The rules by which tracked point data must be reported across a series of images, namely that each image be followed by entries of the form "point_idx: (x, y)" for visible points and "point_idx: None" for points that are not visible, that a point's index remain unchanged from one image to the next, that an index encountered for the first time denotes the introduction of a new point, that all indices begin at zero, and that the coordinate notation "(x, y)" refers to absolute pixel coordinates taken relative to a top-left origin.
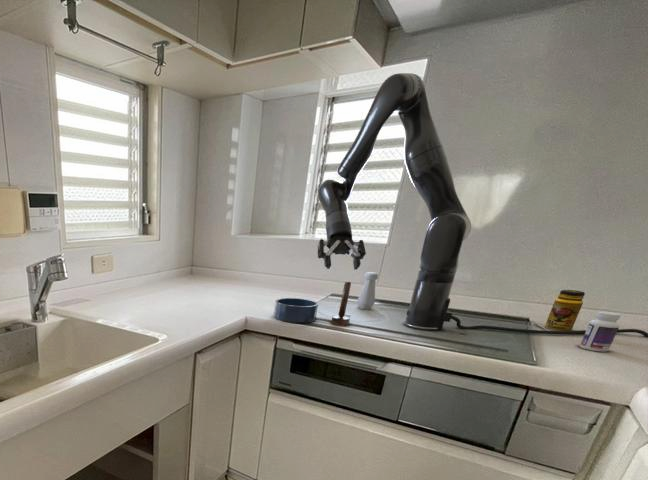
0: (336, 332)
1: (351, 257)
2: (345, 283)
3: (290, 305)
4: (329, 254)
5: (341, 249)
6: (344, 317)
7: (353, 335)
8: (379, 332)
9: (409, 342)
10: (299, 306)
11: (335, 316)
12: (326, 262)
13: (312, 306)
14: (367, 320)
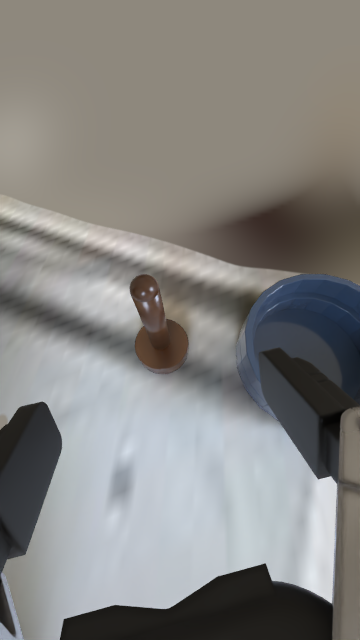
0: (180, 257)
1: (17, 618)
2: (155, 279)
3: (332, 278)
4: (342, 423)
5: (184, 617)
6: (150, 345)
7: (144, 247)
8: (75, 294)
9: (36, 239)
10: (301, 274)
11: (177, 348)
12: (311, 367)
13: (261, 294)
14: (65, 430)
